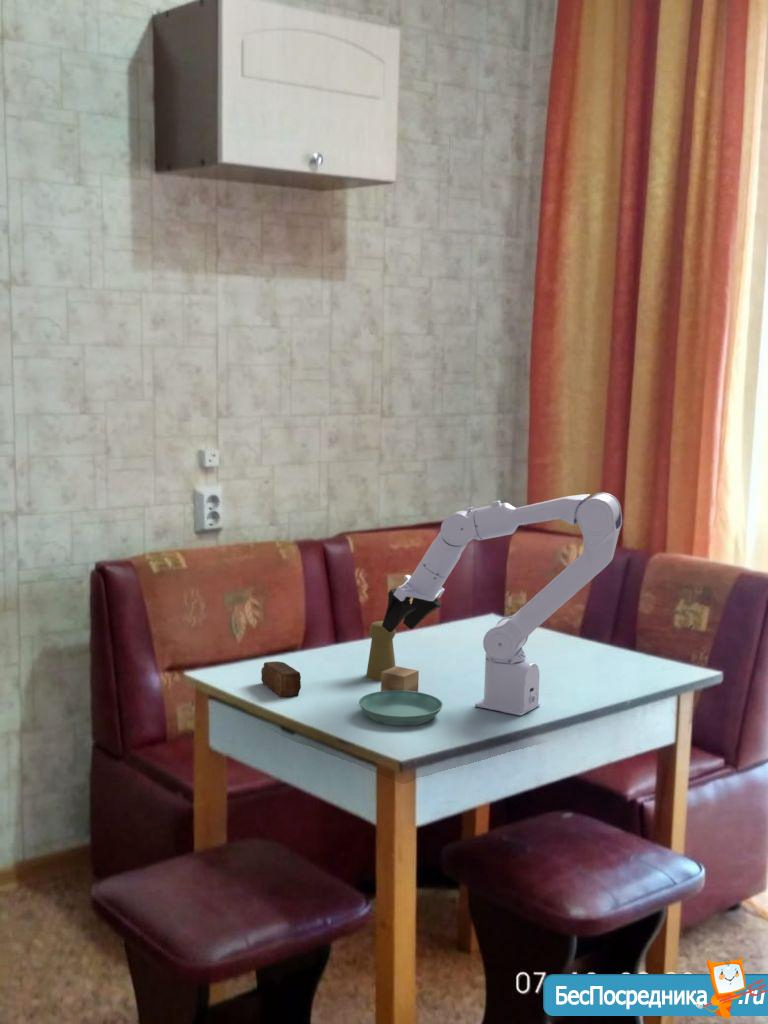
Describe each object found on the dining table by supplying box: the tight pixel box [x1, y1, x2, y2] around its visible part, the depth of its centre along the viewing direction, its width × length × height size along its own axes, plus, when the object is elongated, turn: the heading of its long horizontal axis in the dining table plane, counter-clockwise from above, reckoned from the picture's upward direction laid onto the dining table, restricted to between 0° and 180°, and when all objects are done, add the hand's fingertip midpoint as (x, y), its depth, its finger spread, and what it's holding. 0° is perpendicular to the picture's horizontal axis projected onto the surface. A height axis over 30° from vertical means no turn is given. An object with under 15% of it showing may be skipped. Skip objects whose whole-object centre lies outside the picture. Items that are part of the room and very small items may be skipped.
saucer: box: [358, 690, 444, 727], centre depth 208 cm, size 15×15×3 cm
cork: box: [365, 620, 397, 682], centre depth 231 cm, size 6×6×11 cm
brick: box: [260, 661, 302, 699], centre depth 222 cm, size 11×4×5 cm, turn 27°
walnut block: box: [380, 665, 420, 692], centre depth 219 cm, size 5×5×5 cm
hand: (397, 627), depth 220 cm, fingers open, 7 cm apart
